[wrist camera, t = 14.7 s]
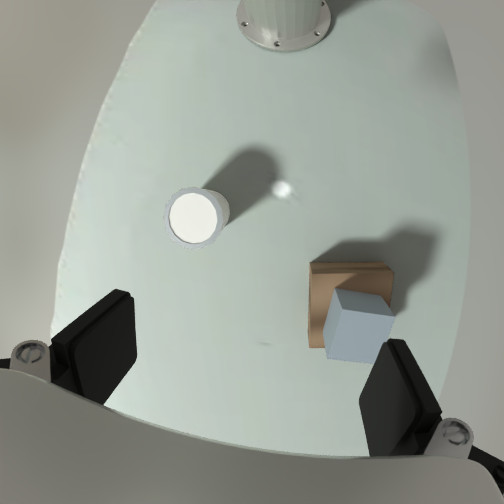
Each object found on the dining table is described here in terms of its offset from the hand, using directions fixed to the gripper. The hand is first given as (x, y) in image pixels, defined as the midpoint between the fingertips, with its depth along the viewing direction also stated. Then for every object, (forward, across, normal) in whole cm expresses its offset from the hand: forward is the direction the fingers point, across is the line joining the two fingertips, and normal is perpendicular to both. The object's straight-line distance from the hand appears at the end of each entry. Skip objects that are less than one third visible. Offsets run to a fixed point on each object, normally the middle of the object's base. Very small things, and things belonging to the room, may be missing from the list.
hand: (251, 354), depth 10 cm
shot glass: (+29, +9, 0) cm, 30 cm away
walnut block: (+29, -11, +9) cm, 32 cm away
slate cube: (+24, -11, +9) cm, 28 cm away
